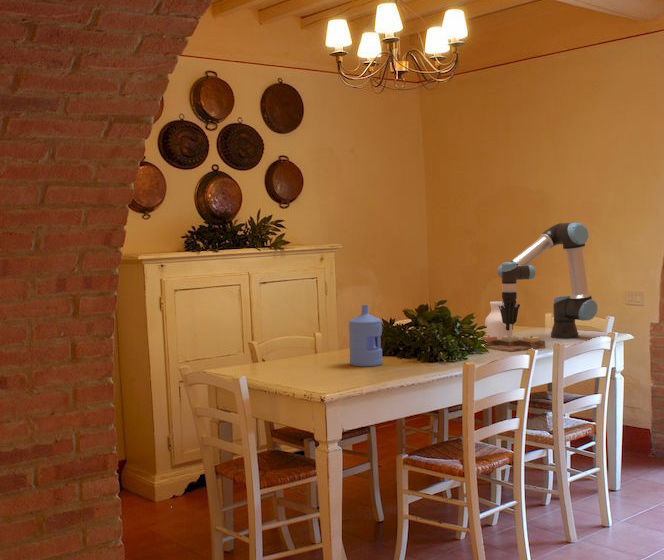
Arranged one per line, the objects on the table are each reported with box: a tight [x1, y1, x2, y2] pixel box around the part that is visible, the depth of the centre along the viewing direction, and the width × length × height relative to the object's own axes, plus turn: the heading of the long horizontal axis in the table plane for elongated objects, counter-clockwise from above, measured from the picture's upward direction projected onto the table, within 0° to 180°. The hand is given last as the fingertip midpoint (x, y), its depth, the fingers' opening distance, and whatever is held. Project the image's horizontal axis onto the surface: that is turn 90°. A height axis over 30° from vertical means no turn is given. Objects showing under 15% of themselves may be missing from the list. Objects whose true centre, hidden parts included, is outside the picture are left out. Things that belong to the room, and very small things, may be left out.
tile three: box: [522, 335, 541, 342], centre depth 441 cm, size 6×6×3 cm
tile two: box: [480, 335, 497, 341], centre depth 449 cm, size 6×6×3 cm
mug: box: [491, 321, 508, 340], centre depth 472 cm, size 12×8×10 cm
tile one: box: [502, 336, 519, 342], centre depth 445 cm, size 6×6×3 cm
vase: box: [484, 300, 507, 336], centre depth 490 cm, size 14×14×20 cm
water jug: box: [348, 304, 384, 368], centre depth 400 cm, size 16×16×28 cm
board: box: [484, 339, 546, 353], centre depth 445 cm, size 24×27×4 cm
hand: (509, 336), depth 445 cm, fingers closed
